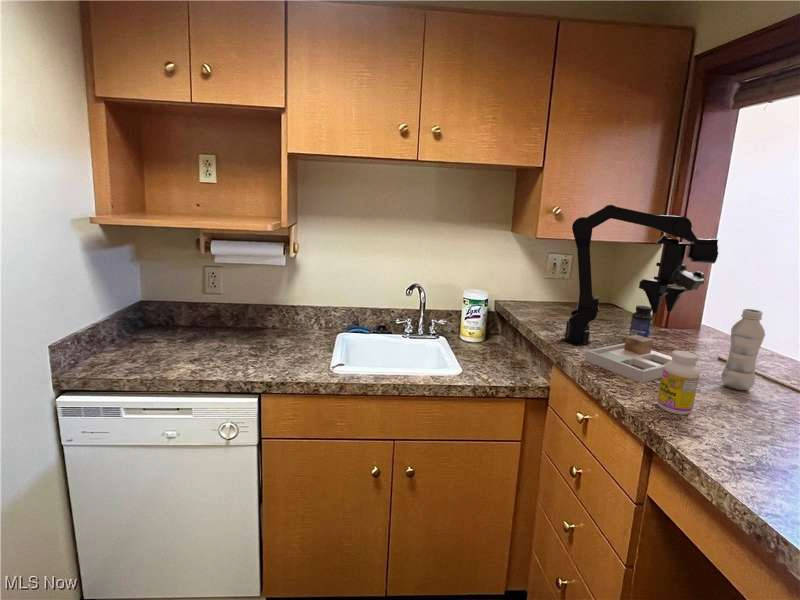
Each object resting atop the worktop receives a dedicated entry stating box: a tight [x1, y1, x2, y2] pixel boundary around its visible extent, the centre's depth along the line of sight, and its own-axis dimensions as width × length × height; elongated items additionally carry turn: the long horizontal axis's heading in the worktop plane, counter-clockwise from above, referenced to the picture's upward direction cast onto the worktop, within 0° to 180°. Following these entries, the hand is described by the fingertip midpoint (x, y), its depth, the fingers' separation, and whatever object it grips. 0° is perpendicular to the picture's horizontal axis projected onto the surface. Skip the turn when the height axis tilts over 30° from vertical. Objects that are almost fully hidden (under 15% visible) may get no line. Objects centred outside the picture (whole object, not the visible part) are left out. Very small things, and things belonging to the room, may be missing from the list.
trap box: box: [584, 342, 672, 384], centre depth 124 cm, size 17×22×3 cm
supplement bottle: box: [656, 349, 701, 416], centre depth 97 cm, size 7×7×13 cm
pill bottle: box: [628, 305, 654, 339], centre depth 148 cm, size 6×6×11 cm
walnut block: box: [624, 335, 654, 355], centre depth 129 cm, size 5×5×4 cm
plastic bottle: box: [720, 308, 766, 391], centre depth 109 cm, size 6×7×20 cm
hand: (662, 312), depth 132 cm, fingers open, 7 cm apart
